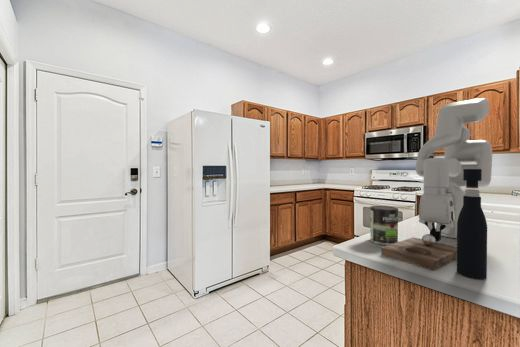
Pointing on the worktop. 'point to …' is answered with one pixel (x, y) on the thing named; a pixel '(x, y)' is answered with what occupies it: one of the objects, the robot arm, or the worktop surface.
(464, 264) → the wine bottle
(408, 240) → the board
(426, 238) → the ball
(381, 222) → the coffee can
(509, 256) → the worktop surface
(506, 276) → the worktop surface
